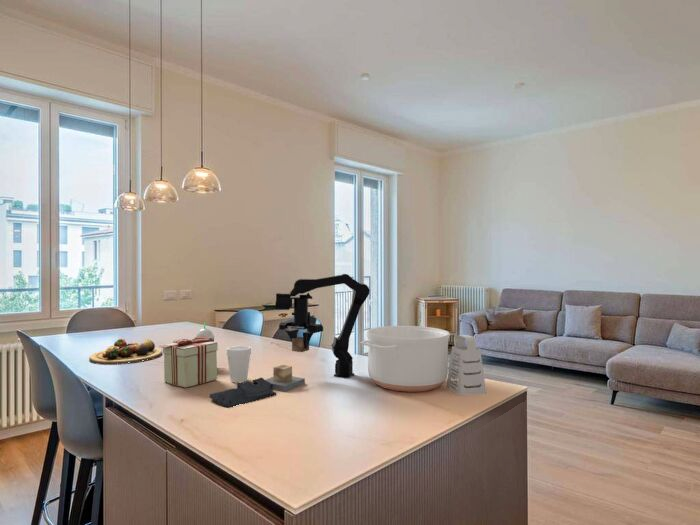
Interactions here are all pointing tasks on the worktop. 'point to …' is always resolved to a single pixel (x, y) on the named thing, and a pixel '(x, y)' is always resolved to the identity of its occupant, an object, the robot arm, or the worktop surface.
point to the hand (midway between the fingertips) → (300, 347)
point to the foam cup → (238, 362)
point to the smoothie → (205, 333)
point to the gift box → (190, 361)
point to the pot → (407, 357)
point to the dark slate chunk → (244, 393)
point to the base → (286, 383)
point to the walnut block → (298, 345)
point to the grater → (466, 367)
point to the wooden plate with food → (126, 352)
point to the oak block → (282, 373)
